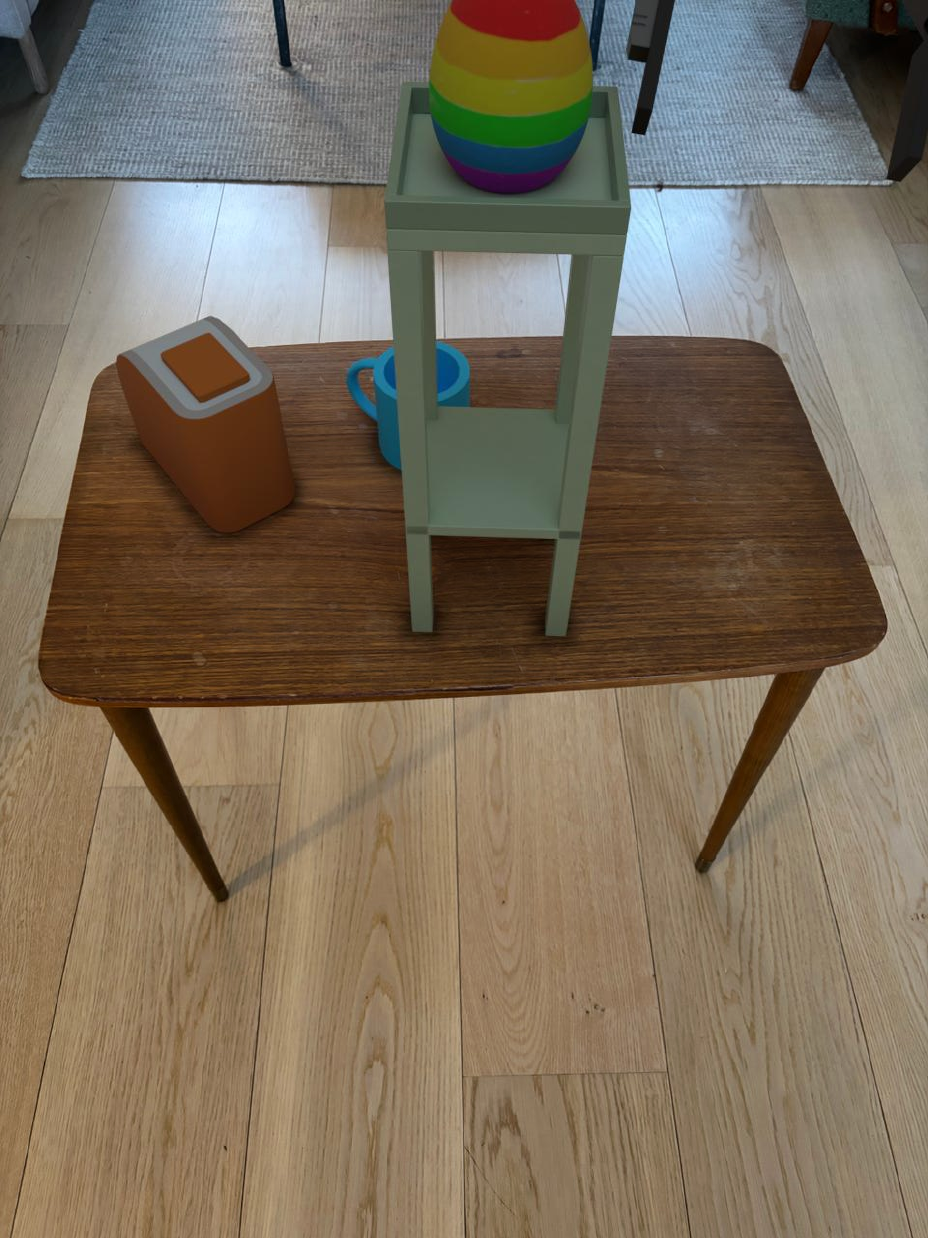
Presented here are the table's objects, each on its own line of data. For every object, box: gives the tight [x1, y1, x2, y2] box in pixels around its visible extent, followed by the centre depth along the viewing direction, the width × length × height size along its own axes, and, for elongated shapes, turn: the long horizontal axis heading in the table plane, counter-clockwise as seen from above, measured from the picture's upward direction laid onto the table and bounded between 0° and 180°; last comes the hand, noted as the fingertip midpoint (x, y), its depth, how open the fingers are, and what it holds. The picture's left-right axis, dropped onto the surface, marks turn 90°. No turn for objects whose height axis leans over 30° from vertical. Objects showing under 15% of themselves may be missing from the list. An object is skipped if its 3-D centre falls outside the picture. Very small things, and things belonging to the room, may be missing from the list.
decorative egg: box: [428, 0, 594, 193], centre depth 48 cm, size 8×8×10 cm
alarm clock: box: [115, 315, 296, 534], centre depth 82 cm, size 15×8×14 cm, turn 37°
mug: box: [345, 340, 471, 471], centre depth 87 cm, size 12×8×8 cm
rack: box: [383, 81, 632, 637], centre depth 66 cm, size 12×12×36 cm
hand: (771, 146), depth 51 cm, fingers open, 13 cm apart
